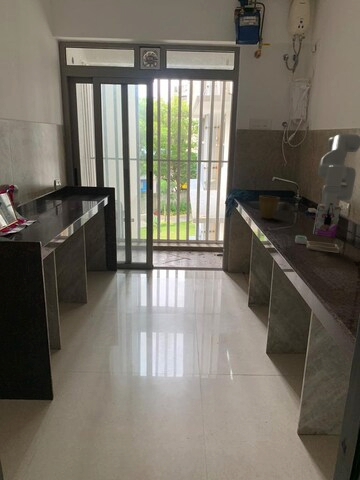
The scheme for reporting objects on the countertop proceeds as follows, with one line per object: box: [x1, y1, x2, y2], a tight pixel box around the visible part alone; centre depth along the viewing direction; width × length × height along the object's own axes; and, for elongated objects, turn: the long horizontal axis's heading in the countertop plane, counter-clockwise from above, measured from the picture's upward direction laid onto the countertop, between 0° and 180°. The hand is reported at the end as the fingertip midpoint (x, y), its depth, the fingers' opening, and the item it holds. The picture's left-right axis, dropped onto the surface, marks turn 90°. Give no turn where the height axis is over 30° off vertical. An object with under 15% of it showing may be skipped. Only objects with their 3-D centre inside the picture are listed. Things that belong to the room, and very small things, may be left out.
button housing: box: [294, 235, 308, 245], centre depth 204 cm, size 6×6×3 cm
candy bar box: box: [312, 203, 342, 239], centre depth 190 cm, size 11×5×16 cm, turn 74°
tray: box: [305, 240, 340, 254], centre depth 194 cm, size 10×16×2 cm, turn 76°
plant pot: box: [258, 194, 280, 219], centre depth 267 cm, size 15×15×16 cm
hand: (326, 223), depth 190 cm, fingers closed on candy bar box, 5 cm apart
